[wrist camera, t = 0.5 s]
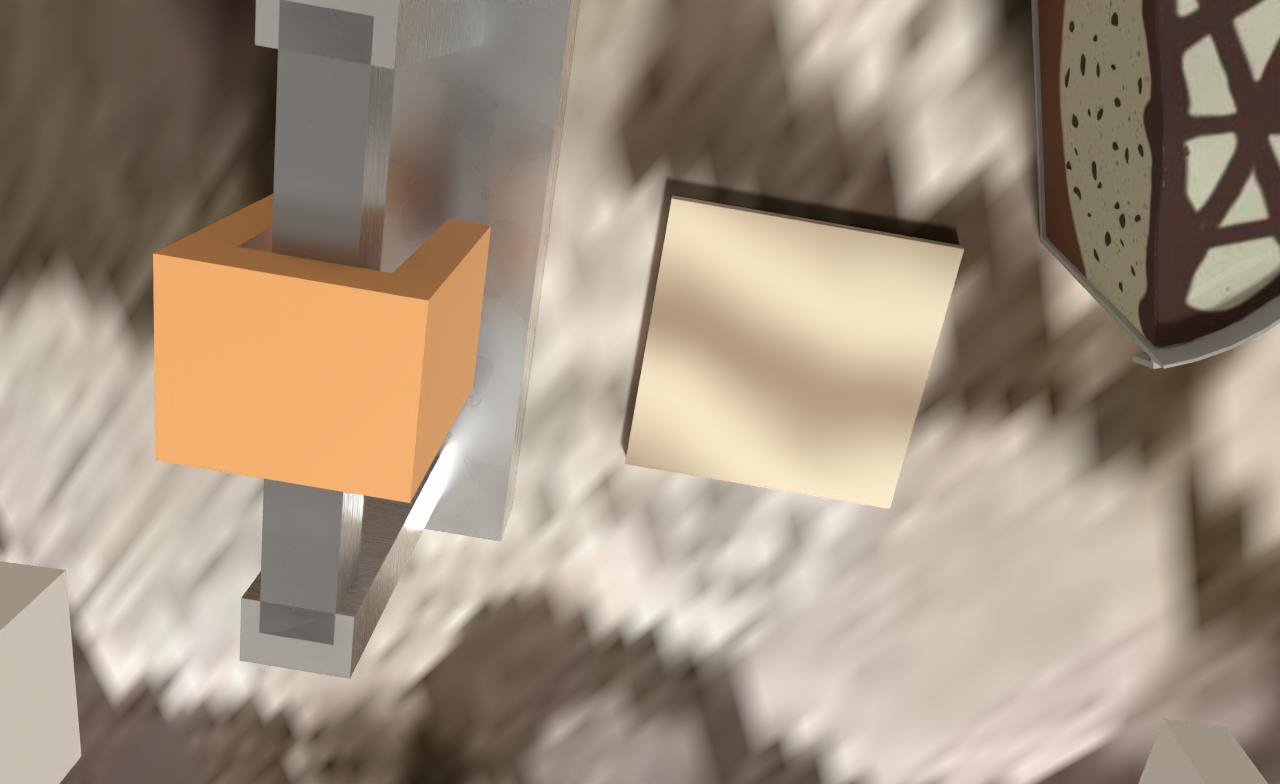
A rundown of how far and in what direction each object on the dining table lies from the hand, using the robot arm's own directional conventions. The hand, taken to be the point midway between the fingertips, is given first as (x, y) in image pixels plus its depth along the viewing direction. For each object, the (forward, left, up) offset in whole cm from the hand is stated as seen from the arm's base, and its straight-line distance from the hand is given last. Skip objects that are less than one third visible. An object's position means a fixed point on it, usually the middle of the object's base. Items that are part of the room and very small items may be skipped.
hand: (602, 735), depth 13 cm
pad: (+3, +5, -25) cm, 26 cm away
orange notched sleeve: (+1, -8, -19) cm, 20 cm away
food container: (-8, +14, -26) cm, 30 cm away
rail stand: (+1, -8, -25) cm, 26 cm away
